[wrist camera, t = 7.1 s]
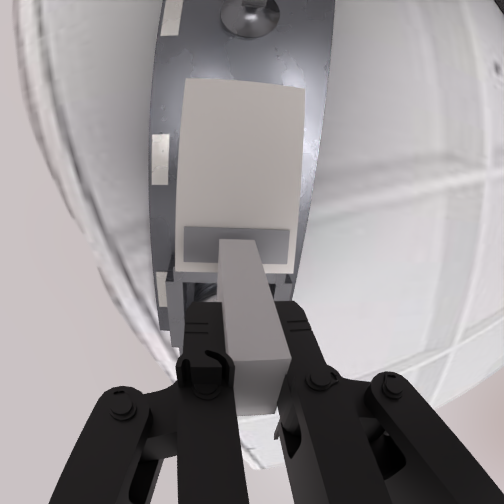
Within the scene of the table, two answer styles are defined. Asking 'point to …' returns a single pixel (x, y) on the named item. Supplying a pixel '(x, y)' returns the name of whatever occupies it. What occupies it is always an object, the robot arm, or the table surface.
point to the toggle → (254, 3)
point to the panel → (229, 68)
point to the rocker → (238, 171)
